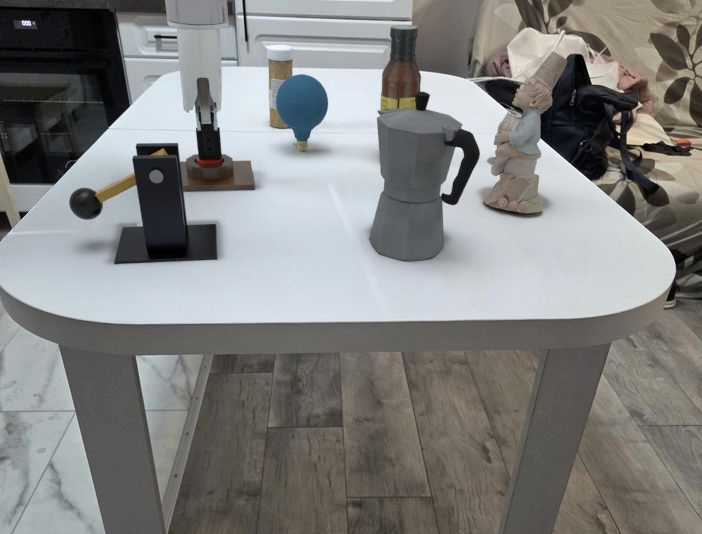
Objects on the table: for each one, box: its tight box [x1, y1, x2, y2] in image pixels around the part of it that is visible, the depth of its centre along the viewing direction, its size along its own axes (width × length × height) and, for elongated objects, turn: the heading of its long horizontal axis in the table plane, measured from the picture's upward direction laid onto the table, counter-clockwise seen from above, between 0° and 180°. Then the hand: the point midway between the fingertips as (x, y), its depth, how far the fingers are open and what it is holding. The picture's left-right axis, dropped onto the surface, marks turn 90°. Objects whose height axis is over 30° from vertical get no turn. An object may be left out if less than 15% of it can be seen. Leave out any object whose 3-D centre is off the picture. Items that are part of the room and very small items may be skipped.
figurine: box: [482, 51, 568, 214], centre depth 83 cm, size 9×8×20 cm
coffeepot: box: [368, 91, 481, 262], centre depth 71 cm, size 15×9×18 cm, turn 39°
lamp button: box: [196, 157, 223, 166], centre depth 89 cm, size 4×4×2 cm
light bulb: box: [276, 73, 329, 152], centre depth 101 cm, size 8×8×12 cm
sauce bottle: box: [379, 24, 422, 110], centre depth 97 cm, size 6×6×20 cm
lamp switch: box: [113, 142, 218, 265], centre depth 69 cm, size 11×9×12 cm
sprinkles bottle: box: [266, 44, 294, 129], centre depth 112 cm, size 5×5×14 cm
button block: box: [180, 153, 256, 193], centre depth 89 cm, size 12×10×4 cm
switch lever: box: [68, 148, 168, 221], centre depth 67 cm, size 12×3×3 cm, turn 101°
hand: (210, 157), depth 88 cm, fingers closed
